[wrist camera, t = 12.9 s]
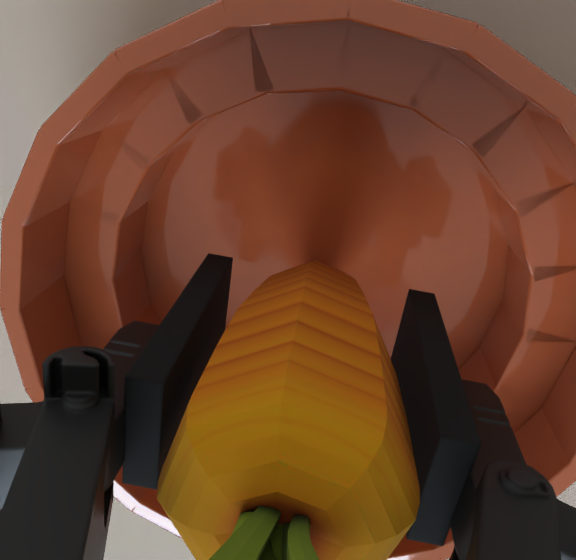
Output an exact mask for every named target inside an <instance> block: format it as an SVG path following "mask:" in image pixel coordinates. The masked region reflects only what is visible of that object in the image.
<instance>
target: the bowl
mask: <svg viewBox="0 0 576 560" xmlns="http://www.w3.org/2000/svg"><path fill="white" fill-rule="evenodd" d="M208 253H210V254H216V255H221V256H227V257H232V258H233V263H232V272H231V281H230V291H229V300H228V309H227V318H226V327H225V330H226V328H227V326H228V325H229V323H230V321H231V319H232V318H233V316H234V314H235V312H236V310H237V309H238V308H239V306H240V305H241V304H242V303H243V302H244V301H245V300H246V299H247V298H248V297H249V296H250V294H251V293H252V292H253V291H254V290H255V289H256V288H257V287H258V286H260V285H261V284H262V283H263V282H264V281H265V280H266V279H267V278H269V277H270V276H271V275H274V274H277V273H279V272H282V271H285V270H287V269H290V268H293V267H296V266H299V265H302V264H305V263H308V262H310V261H313V260H317V261H320V262H322V263H324V264H327V265H329V266H331V267H334V268H336V269H339V270H341V271H343V272H345V273H347V274H348V275H350V276H351V277H353V278H354V279H356V281H357V283H358V284H359V286H360V288H361V290H362V291H363V293H364V295H365V297H366V300H367V302H368V304H369V306H370V309H371V311H372V313H373V316H374V318H375V321H376V323H377V326H378V328H379V331H380V333H381V336H382V338H383V341H384V344H385V346H386V349H387V351H388V354H389V356H390V359H391V356H392V352H393V348H394V344H395V340H396V337H397V333H398V329H399V325H400V321H401V318H402V314H403V310H404V306H405V302H406V299H407V295H408V291H409V289H412V290H418V291H423V292H429V293H435V296H436V300H437V303H438V306H439V309H440V312H441V316H442V319H443V322H444V325H445V328H446V332H447V335H448V338H449V341H450V344H451V348H452V351H453V354H454V357H455V360H456V364H457V367H458V370H459V373H460V376H461V379H463V380H468V381H474V382H479V383H485V384H487V385H488V386H489V387H490V388H491V389H492V390H493V391H494V392H495V393H496V394H497V396H498V397H499V398H500V400H501V402H502V405H503V407H504V410H505V415H507V417H508V420H509V422H510V427H512V430H513V432H514V435H515V437H516V440H517V442H518V445H519V447H520V450H521V452H522V455H523V457H524V459H525V462H526V464H527V465H528V466H531V467H533V468H534V469H535V470H537V471H538V472H539V473H541V474H542V475H543V476H545V478H546V479H547V480H548V481H549V483H550V484H551V485H552V486H553V489H554V492H555V495H556V497H557V496H558V495H559V494H561V493H562V492H563V491H564V490H566V489H567V488H568V487H569V486H571V485H572V484H573V483H574V482H575V481H576V95H575V94H574V93H573V92H571V91H570V90H569V89H567V88H566V87H565V86H563V85H562V84H560V83H559V82H558V81H556V80H555V79H554V78H552V77H551V76H550V75H548V74H547V73H546V72H544V71H543V70H542V69H540V68H539V67H538V66H536V65H535V64H533V63H532V62H531V61H529V60H528V59H527V58H525V57H524V56H523V55H521V54H520V53H519V52H517V51H516V50H515V49H513V48H512V47H510V46H509V45H508V44H506V43H505V42H504V41H502V40H501V39H500V38H498V37H497V36H496V35H494V34H493V33H492V32H490V31H489V30H488V29H486V28H485V27H483V26H482V25H478V23H477V22H473V21H470V20H466V19H462V18H459V17H455V16H452V15H448V14H445V13H441V12H437V11H434V10H430V9H427V8H423V7H420V6H416V5H413V4H409V3H405V2H402V1H398V0H217V1H215V2H213V3H211V4H209V5H207V6H205V7H203V8H200V9H198V10H196V11H194V12H192V13H190V14H188V15H186V16H184V17H181V18H179V19H177V20H175V21H173V22H171V23H169V24H167V25H164V26H162V27H160V28H158V29H156V30H154V31H152V32H150V33H148V34H145V35H143V36H141V37H139V38H137V39H135V40H133V41H131V42H129V43H126V44H124V45H122V46H120V47H118V48H116V50H115V51H112V52H111V53H110V54H109V55H108V56H107V57H106V58H105V59H104V60H103V61H102V62H101V63H100V64H99V66H98V67H97V68H96V69H95V70H94V71H93V72H92V73H91V74H90V75H89V76H88V77H87V78H86V79H85V80H84V81H83V82H82V83H81V84H80V86H79V87H78V88H77V89H76V90H75V91H74V92H73V93H72V94H71V95H70V96H69V97H68V98H67V99H66V100H65V101H64V102H63V103H62V104H61V106H60V107H59V108H58V109H57V110H56V111H55V112H54V113H53V114H52V115H51V116H50V117H49V118H48V119H47V120H46V121H45V122H44V123H43V124H42V126H41V128H40V129H39V130H38V132H37V135H36V137H35V140H34V142H33V145H32V147H31V150H30V152H29V155H28V157H27V159H26V162H25V164H24V167H23V169H22V172H21V174H20V177H19V179H18V181H17V184H16V186H15V189H14V191H13V194H12V196H11V199H10V201H9V204H8V206H7V208H6V211H5V213H4V216H3V219H2V235H1V269H0V308H1V313H2V317H3V320H4V323H5V326H6V330H7V333H8V336H9V340H10V343H11V346H12V349H13V353H14V356H15V359H16V362H17V366H18V369H19V372H20V375H21V379H22V382H23V385H24V387H25V391H26V392H27V394H28V395H29V397H30V398H31V400H32V401H33V403H34V402H41V401H43V400H44V387H43V369H42V363H43V362H44V361H45V359H46V358H47V357H48V356H49V355H51V354H53V353H54V352H56V351H58V350H61V349H65V348H68V347H74V346H90V347H97V348H100V349H102V350H103V348H104V347H105V346H106V345H107V343H108V342H110V340H111V338H112V337H113V336H114V335H115V333H116V332H117V331H118V330H119V329H120V328H122V327H124V326H126V325H127V324H129V323H131V322H133V321H141V322H146V323H151V324H157V325H160V324H161V322H162V321H163V319H164V318H165V316H166V315H167V314H168V312H169V311H170V309H171V308H172V306H173V305H174V303H175V302H176V300H177V299H178V297H179V296H180V294H181V293H182V291H183V290H184V288H185V287H186V286H187V284H188V283H189V281H190V280H191V278H192V277H193V275H194V274H195V272H196V271H197V269H198V268H199V266H200V265H201V263H202V262H203V260H204V259H205V258H206V256H207V255H208ZM122 472H123V465H122V467H121V468H120V470H119V472H118V474H117V476H116V478H115V479H114V493H113V496H114V497H115V498H116V499H117V500H118V501H120V502H121V503H122V504H123V505H124V506H125V507H126V508H127V509H129V510H132V512H134V513H135V514H137V515H139V516H141V517H143V518H145V519H147V520H148V521H150V522H152V523H154V524H156V525H158V526H160V527H162V528H163V529H165V530H167V531H169V532H171V533H173V534H175V535H176V536H178V537H180V538H182V537H181V536H180V534H179V532H178V531H177V529H176V528H175V526H174V525H173V523H172V521H171V520H170V518H169V517H168V515H167V514H166V512H165V511H164V509H163V507H162V506H161V504H160V503H159V501H158V500H157V490H155V489H150V488H145V487H140V486H135V485H130V484H125V483H122ZM454 547H455V546H454V541H453V536H452V531H451V527H450V530H449V532H448V535H447V538H446V540H445V543H444V546H439V545H434V544H429V543H424V542H419V541H414V540H409V539H407V536H406V534H405V535H404V537H403V538H402V539H401V541H400V542H399V544H398V545H397V546H396V548H395V549H394V550H393V552H392V553H391V555H390V556H389V557H388V559H387V560H446V559H448V558H450V557H451V554H452V552H453V549H454Z"/></svg>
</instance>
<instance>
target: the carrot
mask: <svg viewBox="0 0 576 560" xmlns="http://www.w3.org/2000/svg"><path fill="white" fill-rule="evenodd" d="M157 500H158V501H159V503H160V504H161V506H162V507H163V509H164V511H165V512H166V514H167V515H168V517H169V518H170V520H171V521H172V523H173V525H174V526H175V528H176V529H177V531H178V532H179V534H180V536H181V537H182V539H183V540H184V542H185V543H186V545H187V546H188V548H189V550H190V551H191V553H192V554H193V556H194V557H195V559H196V560H387V559H388V557H389V556H390V555H391V553H392V552H393V550H394V549H395V548H396V546H397V545H398V544H399V542H400V541H401V539H402V538H403V537H404V535H405V534H406V533H407V531H408V530H409V529H410V527H411V526H412V524H413V523H414V522H415V520H416V517H417V513H418V509H419V505H420V486H419V481H418V475H417V470H416V464H415V459H414V454H413V448H412V443H411V437H410V432H409V426H408V421H407V417H406V413H405V408H404V404H403V399H402V395H401V391H400V386H399V382H398V378H397V374H396V371H395V369H394V366H393V364H392V361H391V359H390V356H389V354H388V351H387V349H386V346H385V344H384V341H383V338H382V336H381V333H380V331H379V328H378V326H377V323H376V321H375V318H374V316H373V313H372V311H371V309H370V306H369V304H368V302H367V300H366V297H365V295H364V293H363V291H362V290H361V288H360V286H359V284H358V283H357V281H356V279H354V278H353V277H351V276H350V275H348V274H347V273H345V272H343V271H341V270H339V269H336V268H334V267H331V266H329V265H327V264H324V263H322V262H320V261H317V260H313V261H310V262H308V263H305V264H302V265H299V266H296V267H293V268H290V269H287V270H285V271H282V272H279V273H277V274H274V275H271V276H270V277H269V278H267V279H266V280H265V281H264V282H263V283H262V284H261V285H260V286H258V287H257V288H256V289H255V290H254V291H253V292H252V293H251V294H250V296H249V297H248V298H247V299H246V300H245V301H244V302H243V303H242V304H241V305H240V306H239V308H238V309H237V310H236V312H235V314H234V316H233V318H232V319H231V321H230V323H229V325H228V326H227V328H226V330H225V332H224V333H223V335H222V337H221V339H220V340H219V342H218V344H217V346H216V348H215V350H214V352H213V354H212V356H211V358H210V360H209V362H208V364H207V366H206V368H205V370H204V372H203V374H202V376H201V378H200V380H199V382H198V384H197V386H196V388H195V390H194V392H193V394H192V396H191V398H190V401H189V403H188V406H187V408H186V411H185V413H184V415H183V418H182V420H181V423H180V425H179V428H178V430H177V432H176V435H175V437H174V440H173V442H172V445H171V447H170V450H169V452H168V454H167V457H166V459H165V462H164V464H163V467H162V470H161V473H160V476H159V479H158V485H157Z"/></svg>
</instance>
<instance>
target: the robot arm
mask: <svg viewBox="0 0 576 560" xmlns="http://www.w3.org/2000/svg"><path fill="white" fill-rule="evenodd" d="M232 263H233V258H232V257H227V256H221V255H216V254H210V253H208V255H207V256H206V258H205V259H204V260H203V262H202V263H201V265H200V266H199V268H198V269H197V271H196V272H195V274H194V275H193V277H192V278H191V280H190V281H189V283H188V284H187V286H186V287H185V288H184V290H183V291H182V293H181V294H180V296H179V297H178V299H177V300H176V302H175V303H174V305H173V306H172V308H171V309H170V311H169V312H168V314H167V315H166V316H165V318H164V319H163V321H162V322H161V324H160V325H157V324H151V323H146V322H141V321H133V322H131V323H129V324H127V325H126V326H124V327H122V328H120V329H119V330H118V331H117V332H116V333H115V335H114V336H113V337H112V338H111V340H110V342H108V343H107V345H106V346H105V347H104V348H103V350H102V349H100V348H97V347H90V346H74V347H68V348H65V349H61V350H58V351H56V352H54V353H53V354H51V355H49V356H48V357H47V358H46V359H45V361H44V362H43V363H42V369H43V387H44V400H43V401H41V402H34V403H14V404H0V560H103V558H104V552H105V545H106V539H107V533H108V527H109V521H110V515H111V509H112V503H113V493H114V479H115V478H116V476H117V474H118V472H119V470H120V468H121V467H122V465H123V472H122V483H125V484H130V485H135V486H140V487H145V488H150V489H155V490H157V485H158V479H159V476H160V473H161V470H162V467H163V464H164V462H165V459H166V457H167V454H168V452H169V450H170V447H171V445H172V442H173V440H174V437H175V435H176V432H177V430H178V428H179V425H180V423H181V420H182V418H183V415H184V413H185V411H186V408H187V406H188V403H189V401H190V398H191V396H192V394H193V392H194V390H195V388H196V386H197V384H198V382H199V380H200V378H201V376H202V374H203V372H204V370H205V368H206V366H207V364H208V362H209V360H210V358H211V356H212V354H213V352H214V350H215V348H216V346H217V344H218V342H219V340H220V339H221V337H222V335H223V333H224V332H225V327H226V318H227V309H228V300H229V291H230V281H231V272H232ZM391 361H392V364H393V366H394V369H395V371H396V374H397V378H398V382H399V386H400V391H401V395H402V399H403V404H404V408H405V413H406V417H407V421H408V426H409V432H410V437H411V443H412V448H413V454H414V459H415V464H416V470H417V475H418V481H419V486H420V505H419V509H418V513H417V517H416V520H415V522H414V523H413V524H412V526H411V527H410V529H409V530H408V531H407V533H406V536H407V539H409V540H414V541H419V542H424V543H429V544H434V545H439V546H444V543H445V540H446V538H447V535H448V532H449V530H450V527H451V531H452V536H453V541H454V546H455V547H454V549H453V552H452V554H451V557H450V559H449V560H576V508H574V507H572V506H570V505H568V504H566V503H564V502H562V501H560V500H558V499H556V495H555V492H554V489H553V486H552V485H551V484H550V483H549V481H548V480H547V479H546V478H545V476H543V475H542V474H541V473H539V472H538V471H537V470H535V469H534V468H533V467H531V466H528V465H527V464H526V462H525V459H524V457H523V455H522V452H521V450H520V447H519V445H518V442H517V440H516V437H515V435H514V432H513V430H512V427H510V422H509V420H508V417H507V415H505V410H504V407H503V405H502V402H501V400H500V398H499V397H498V396H497V394H496V393H495V392H494V391H493V390H492V389H491V388H490V387H489V386H488V385H487V384H485V383H479V382H474V381H468V380H463V379H461V376H460V373H459V370H458V367H457V364H456V360H455V357H454V354H453V351H452V348H451V344H450V341H449V338H448V335H447V332H446V328H445V325H444V322H443V319H442V316H441V312H440V309H439V306H438V303H437V300H436V296H435V293H429V292H423V291H418V290H412V289H409V291H408V295H407V299H406V302H405V306H404V310H403V314H402V318H401V321H400V325H399V329H398V333H397V337H396V340H395V344H394V348H393V352H392V356H391Z"/></svg>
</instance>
